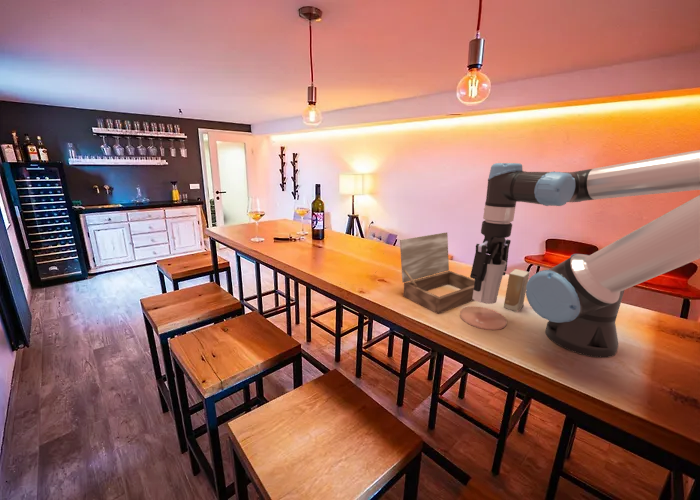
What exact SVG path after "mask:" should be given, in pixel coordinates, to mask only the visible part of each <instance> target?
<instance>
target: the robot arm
mask: <svg viewBox="0 0 700 500" xmlns="http://www.w3.org/2000/svg"><path fill="white" fill-rule="evenodd" d="M486 186H487V187H486V189H487V190H486V195H485V196H486V198H485V203H484V208H483V217H482V218H483V220H482V222H481V229H480V234H482V235H483V236H484V239H483V240H482V242H481V244H480V243H476V245H475V254H474V258H473V261H472V262H473V263H472V267H471V272H470V276H469V278H472V279H475V283H474V291H473V297H472V299H473V301H476V302H478V303H481V302H482V300H483V294H484V288H485V280H484V278H485V275H486V272H487V264H490V262H491V259H492V262H493V264H494V265H501V261H502V260H504V261H505V262H506V267H505V270H504V274H503V276H505V275H506V272H507V269H508V262H509V261H508V260H509V251H510V250H509V249H510V246H511V239H507V238H510V237H511V233H512V228H513V223H512V222H514V218H515V211H516V207H517V203H520V202H521V203H527V204H534V205H543V206H546V207H549V206H553V207H555V206H556V207H562V206H565V205H567V203H580V202H586V201H594V200H604V199H616V198H624V197H625V198H626V197H635V196H636V197H637V196H648V195H656V194H657V195H659V194H669V193H679V192H690V191H700V149H698V150H692V151H685V152H680V153H675V154H670V155H662V156H659V157H658V156H657V157H651V158H647V159H641V160H636V161H635V160H634V161H629V162H623V163H617V164H612V165H607V166H601V167H594V168H588V169H584V170H583V169H582V170H576V171H570V172H569V171H568V172H567V171H563V172H561V171H554V170H553V171H526V170H525V171H524V170H523V164H522V163H518V162H509V163H508V162H495V163H493V164H492V165H491V167H490V170H489V175H488V178H487V185H486ZM697 260H700V194H699V195H697V196H695V197H693V198H691V199H690V200H688V201H686V202H685V203H683V204H680V205H679V206H677V207H675V208H673V209H672V210H670V211H668V212H667V213H664V214H663V215H661V216H659V217H657V218H655V219H654V220H652V221H651V220H650V222H648V223H646V224H644V225H642V226H641V227H639V228H636V229H635V230H633V231H632V232H629V233H628V234H626V235H624V236H622V237H621V238H619V239H616V240H615V241H613V242H612V243H610V244H607V245H606V246H604V247H603V248H601V249H599V250H597V251H595V252H593V253H592V254H583V253H573V254H571V255H570V257H569V258H567V259H565V260H564V261H562V262H560V263H559V264H556V265H555V266H553V267H551V268H549V269H544V270H540V271H537V272H536V273H534V274H533V275H531V276H530V277H529V278H528V282H527V285H526V293H525V297H526V300H527V302H528V305H529V306H530V307H531V309H532V310H533V311H534V312H535V313H536V314H537V316H540V317H541V318H542V319H545V320H547V323H546V327H545V331H544V333H545V335H546V336H547V337H548V339H549V340H551V341H552V342H553V343H555V344H556V345H558V346H559V347H562V348H564V349H566V350H568V351H571V352H573V353H577V354H580V355H584V356H587V357H592V358H600V359H601V358H610V357H611V358H612V357H613V356H615V355H616V354H617V351H618V347H619V339H618V332H617V326H616V320H617V317H618V314H619V311H620V306H621V303H622V300H623V296H624V293H625V290H627V289H629V288H632V287H634V286H636V285H637V286H638V285H639V284H641V283H644V282H647V281H648V280H652V279H653V278H656V277H658V276H661V275H664V274H666V273H668V272H671V271H673V270H675V269H678V268H680V267H684V266H685V265H688V264H690V263H692V262H695V261H697ZM484 263H485V264H484ZM498 295H499V294H498ZM498 295H497V297H498Z"/></svg>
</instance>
